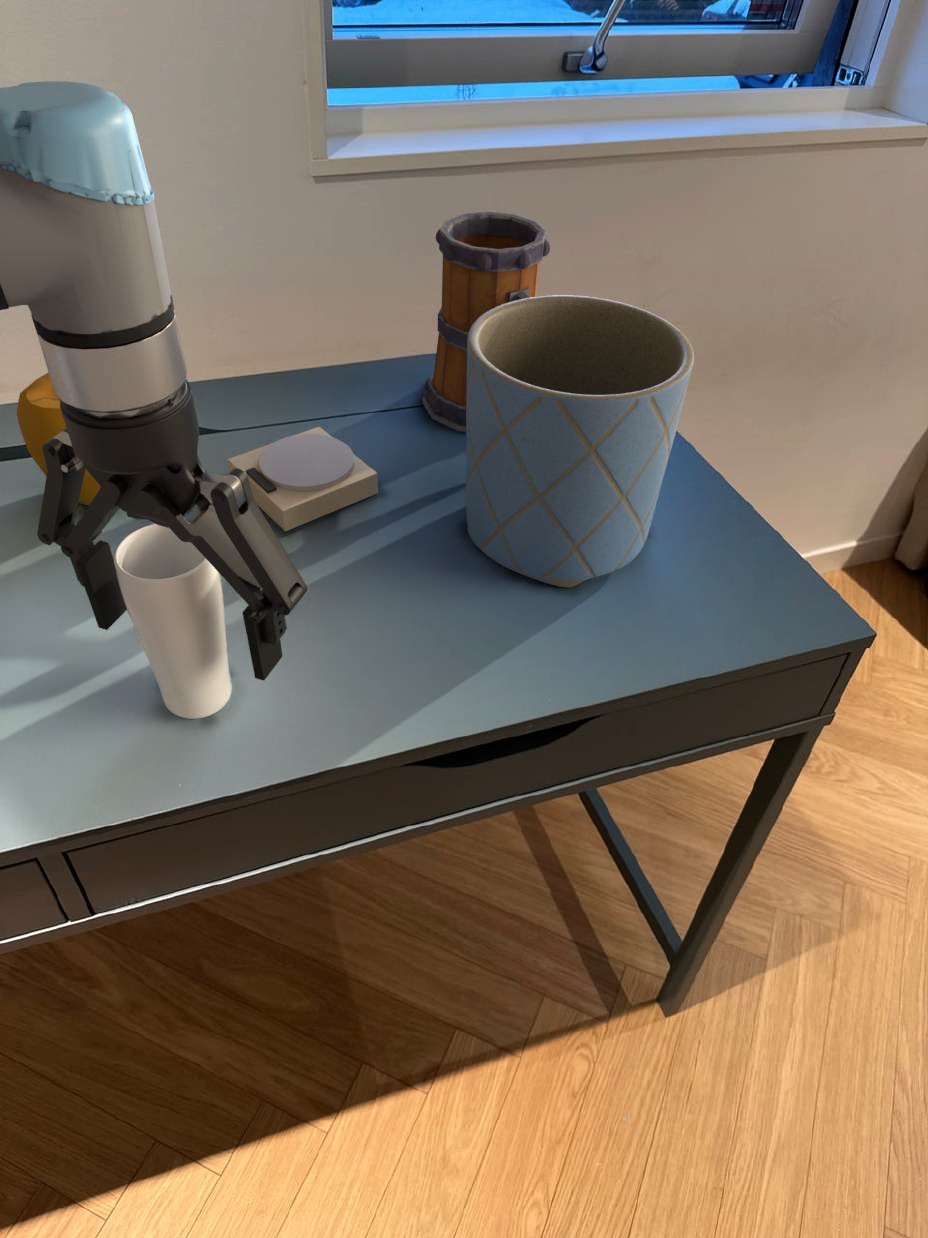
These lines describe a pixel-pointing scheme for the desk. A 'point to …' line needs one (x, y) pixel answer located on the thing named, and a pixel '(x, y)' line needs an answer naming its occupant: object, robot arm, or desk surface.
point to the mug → (477, 294)
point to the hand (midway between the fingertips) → (189, 642)
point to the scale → (305, 477)
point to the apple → (46, 427)
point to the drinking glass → (177, 618)
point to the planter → (569, 432)
